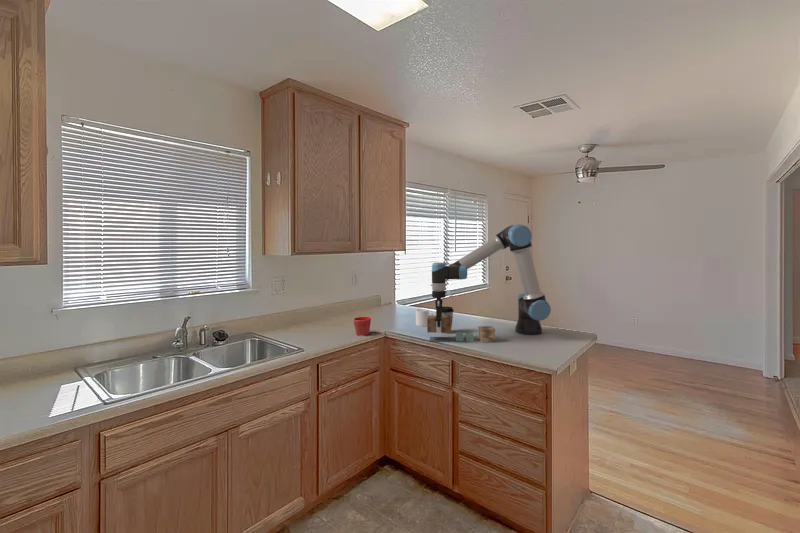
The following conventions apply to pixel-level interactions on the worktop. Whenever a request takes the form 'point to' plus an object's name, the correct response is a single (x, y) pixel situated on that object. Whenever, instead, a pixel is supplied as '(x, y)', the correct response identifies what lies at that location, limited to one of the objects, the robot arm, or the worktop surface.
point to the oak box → (486, 334)
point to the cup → (422, 317)
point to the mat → (439, 339)
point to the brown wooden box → (444, 324)
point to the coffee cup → (448, 313)
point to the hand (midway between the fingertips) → (439, 330)
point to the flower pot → (362, 325)
